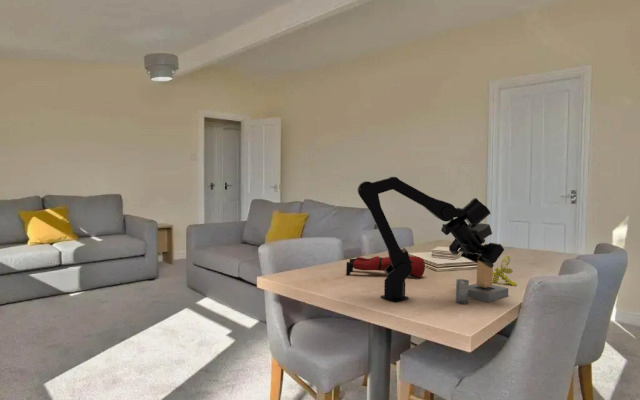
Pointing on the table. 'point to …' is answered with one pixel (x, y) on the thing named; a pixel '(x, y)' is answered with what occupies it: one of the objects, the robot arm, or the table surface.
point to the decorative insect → (500, 272)
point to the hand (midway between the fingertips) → (487, 265)
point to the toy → (384, 265)
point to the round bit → (462, 291)
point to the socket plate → (487, 292)
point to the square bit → (484, 274)
